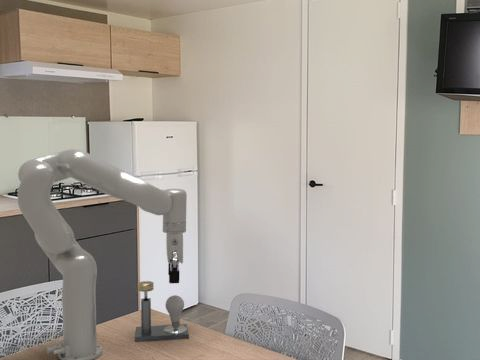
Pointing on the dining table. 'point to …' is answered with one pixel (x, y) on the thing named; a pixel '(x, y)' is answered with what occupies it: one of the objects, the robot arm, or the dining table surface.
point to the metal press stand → (157, 327)
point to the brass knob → (145, 287)
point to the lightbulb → (175, 309)
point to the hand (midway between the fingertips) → (173, 278)
